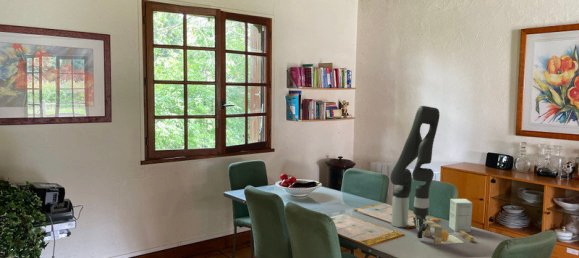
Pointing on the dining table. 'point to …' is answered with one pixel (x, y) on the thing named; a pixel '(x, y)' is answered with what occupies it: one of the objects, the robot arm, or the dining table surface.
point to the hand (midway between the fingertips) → (419, 237)
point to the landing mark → (451, 240)
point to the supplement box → (460, 215)
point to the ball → (444, 235)
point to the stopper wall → (466, 236)
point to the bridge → (437, 231)
